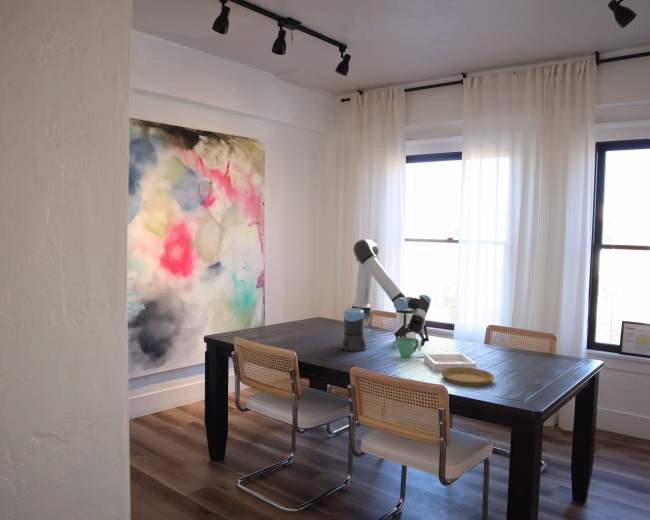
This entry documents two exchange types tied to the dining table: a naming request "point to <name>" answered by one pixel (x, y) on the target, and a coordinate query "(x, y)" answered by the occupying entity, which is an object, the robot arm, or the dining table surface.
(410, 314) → the coffee press
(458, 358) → the tray
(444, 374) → the plant saucer
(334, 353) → the dining table surface
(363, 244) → the robot arm
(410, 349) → the mug
